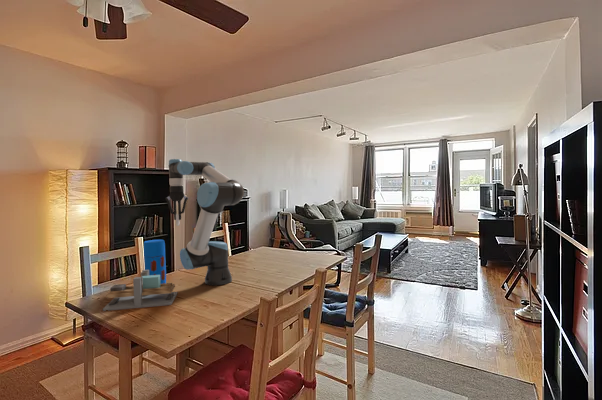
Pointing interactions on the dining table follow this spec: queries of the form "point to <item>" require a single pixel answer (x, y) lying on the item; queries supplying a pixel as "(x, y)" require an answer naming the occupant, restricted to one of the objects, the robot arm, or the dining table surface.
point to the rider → (151, 281)
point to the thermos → (155, 258)
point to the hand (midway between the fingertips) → (177, 225)
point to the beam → (127, 291)
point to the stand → (140, 298)
